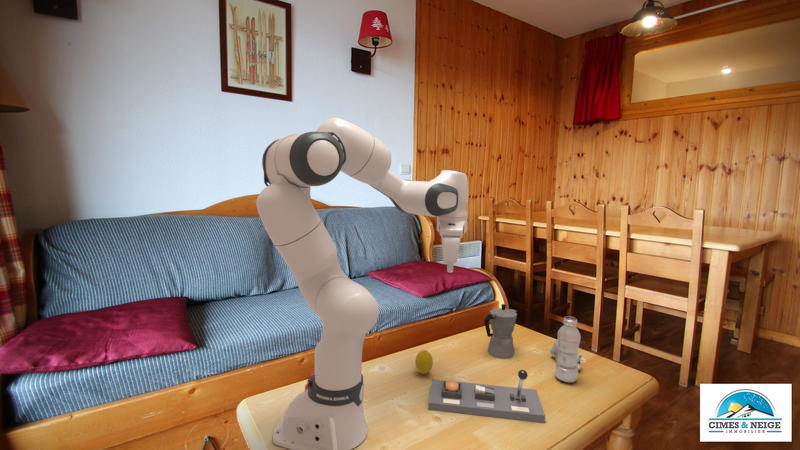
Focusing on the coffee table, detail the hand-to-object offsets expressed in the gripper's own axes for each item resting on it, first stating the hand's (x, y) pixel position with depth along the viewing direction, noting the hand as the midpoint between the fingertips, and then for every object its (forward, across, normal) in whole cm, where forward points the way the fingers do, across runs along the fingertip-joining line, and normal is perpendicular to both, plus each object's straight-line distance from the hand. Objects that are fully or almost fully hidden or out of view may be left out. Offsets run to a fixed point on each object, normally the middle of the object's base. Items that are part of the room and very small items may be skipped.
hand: (450, 271), depth 114 cm
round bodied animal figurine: (+34, -16, +40) cm, 55 cm away
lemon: (+34, -1, -7) cm, 35 cm away
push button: (+31, +11, +2) cm, 33 cm away
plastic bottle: (+34, -6, +37) cm, 51 cm away
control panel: (+34, +11, +11) cm, 37 cm away
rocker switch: (+31, +11, +11) cm, 34 cm away
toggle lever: (+31, +11, +20) cm, 39 cm away
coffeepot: (+34, -20, +18) cm, 44 cm away
